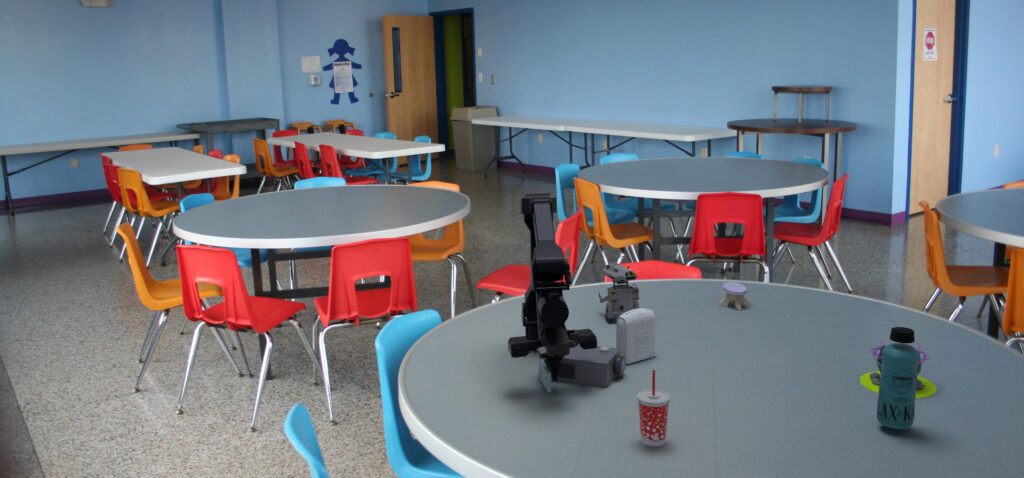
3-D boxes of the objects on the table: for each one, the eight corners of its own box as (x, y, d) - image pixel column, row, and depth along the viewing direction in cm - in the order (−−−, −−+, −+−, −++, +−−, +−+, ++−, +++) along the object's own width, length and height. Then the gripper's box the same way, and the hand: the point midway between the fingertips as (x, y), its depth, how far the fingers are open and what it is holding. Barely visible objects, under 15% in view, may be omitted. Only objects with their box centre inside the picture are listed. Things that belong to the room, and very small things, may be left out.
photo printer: (645, 352, 197) (645, 303, 194) (657, 356, 193) (658, 307, 191) (613, 361, 191) (613, 311, 189) (625, 366, 188) (625, 316, 185)
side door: (537, 378, 182) (537, 359, 181) (543, 377, 182) (543, 358, 181) (545, 393, 173) (545, 373, 172) (552, 392, 174) (551, 372, 173)
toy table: (716, 300, 237) (717, 282, 236) (748, 301, 236) (748, 282, 235) (720, 310, 228) (720, 291, 226) (753, 311, 226) (753, 291, 225)
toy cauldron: (844, 379, 177) (847, 331, 175) (893, 367, 183) (897, 321, 180) (901, 404, 163) (905, 353, 161) (952, 390, 169) (957, 341, 167)
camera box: (539, 378, 183) (538, 352, 181) (555, 362, 192) (555, 338, 190) (614, 388, 175) (614, 362, 174) (627, 372, 184) (627, 346, 183)
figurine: (629, 310, 230) (629, 259, 227) (642, 323, 219) (642, 269, 215) (598, 313, 228) (597, 262, 225) (609, 325, 217) (609, 272, 214)
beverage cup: (662, 451, 147) (663, 379, 144) (631, 443, 150) (631, 373, 147) (674, 437, 152) (675, 367, 149) (644, 430, 155) (644, 362, 152)
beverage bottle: (868, 423, 155) (875, 324, 151) (901, 420, 156) (909, 322, 152) (887, 438, 149) (894, 335, 145) (921, 435, 149) (929, 333, 145)
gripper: (512, 328, 163) (517, 399, 166) (602, 318, 165) (605, 389, 169) (505, 312, 174) (510, 379, 177) (589, 303, 176) (592, 370, 179)
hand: (554, 380), depth 175 cm, fingers closed
